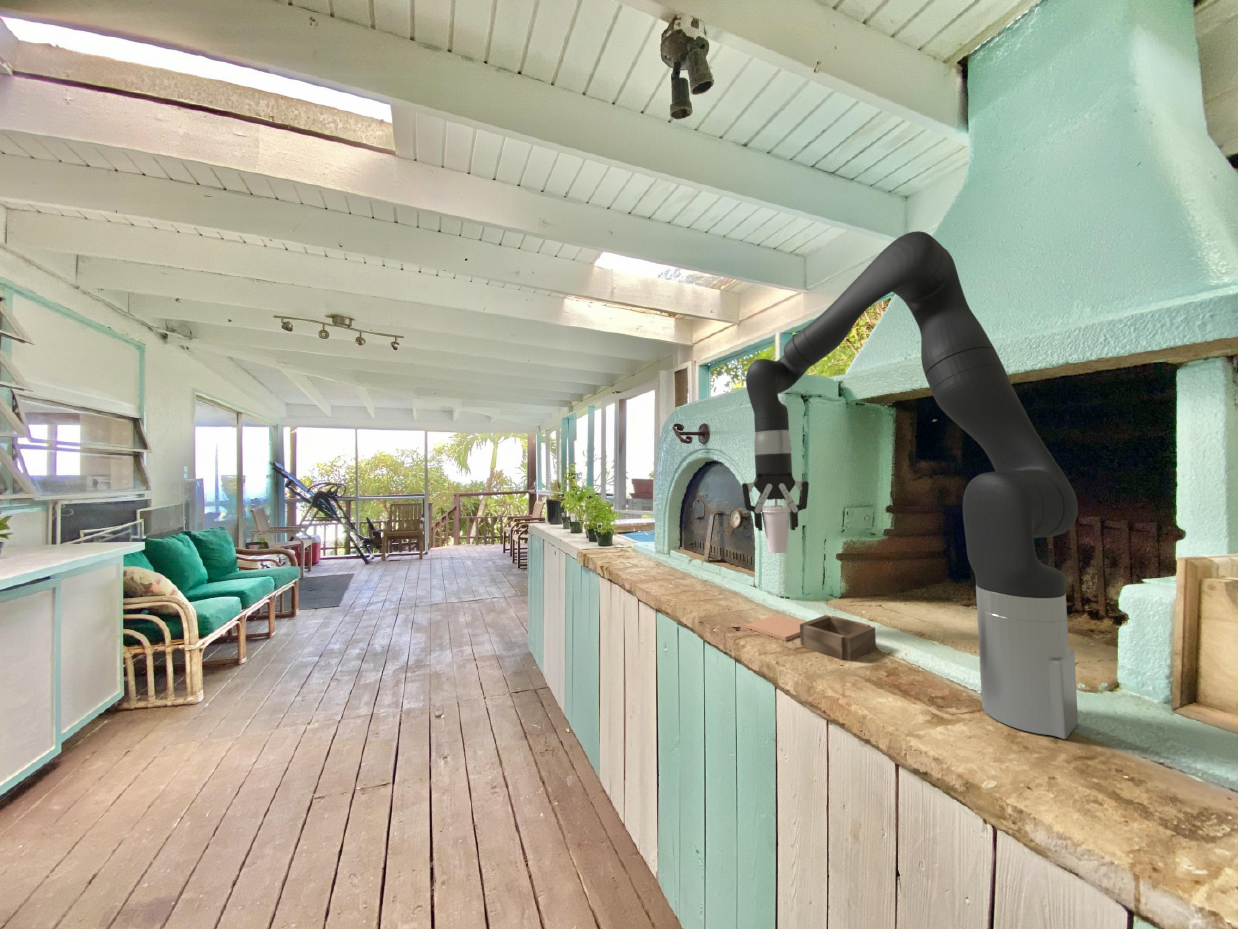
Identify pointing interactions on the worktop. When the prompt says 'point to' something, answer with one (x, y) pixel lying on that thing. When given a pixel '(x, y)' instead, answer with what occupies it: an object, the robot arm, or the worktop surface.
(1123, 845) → the worktop surface
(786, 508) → the smoothie
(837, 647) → the wooden storage tray
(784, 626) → the terracotta tile
